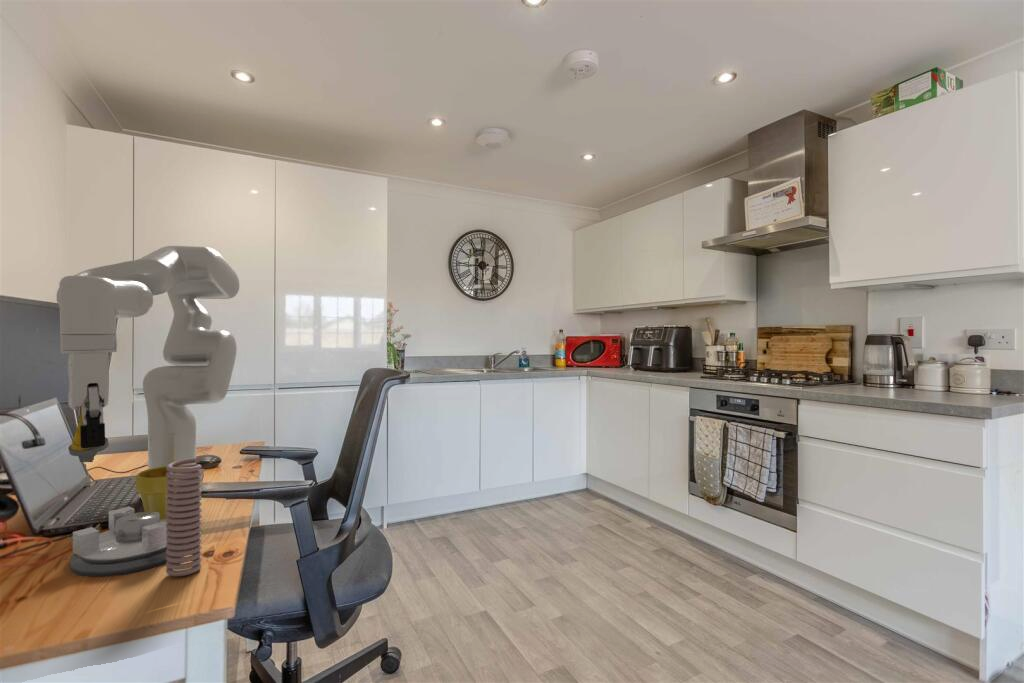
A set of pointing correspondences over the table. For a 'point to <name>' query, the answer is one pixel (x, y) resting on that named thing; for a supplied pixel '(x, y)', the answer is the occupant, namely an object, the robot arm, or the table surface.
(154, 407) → the robot arm
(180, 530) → the coil
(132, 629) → the table surface
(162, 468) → the plant pot
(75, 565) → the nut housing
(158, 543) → the steel lathe chuck
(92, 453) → the stepped yellow cone
